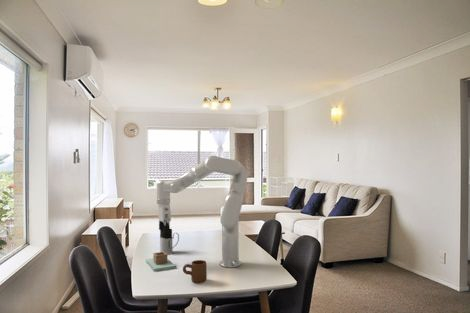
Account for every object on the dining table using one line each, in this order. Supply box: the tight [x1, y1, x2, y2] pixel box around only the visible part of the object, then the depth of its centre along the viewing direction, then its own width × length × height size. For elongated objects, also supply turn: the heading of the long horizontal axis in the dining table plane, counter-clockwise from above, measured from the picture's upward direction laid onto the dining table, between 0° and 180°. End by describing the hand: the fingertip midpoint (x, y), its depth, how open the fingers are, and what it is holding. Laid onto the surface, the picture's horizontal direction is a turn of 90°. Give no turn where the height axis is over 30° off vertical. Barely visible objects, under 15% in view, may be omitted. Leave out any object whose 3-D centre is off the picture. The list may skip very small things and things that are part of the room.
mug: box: [182, 259, 208, 284], centre depth 174 cm, size 12×8×9 cm, turn 112°
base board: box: [145, 257, 176, 272], centre depth 202 cm, size 20×12×2 cm, turn 27°
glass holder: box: [159, 228, 180, 256], centre depth 227 cm, size 9×14×15 cm, turn 64°
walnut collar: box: [152, 251, 168, 265], centre depth 202 cm, size 6×6×5 cm
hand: (164, 231), depth 204 cm, fingers open, 9 cm apart
